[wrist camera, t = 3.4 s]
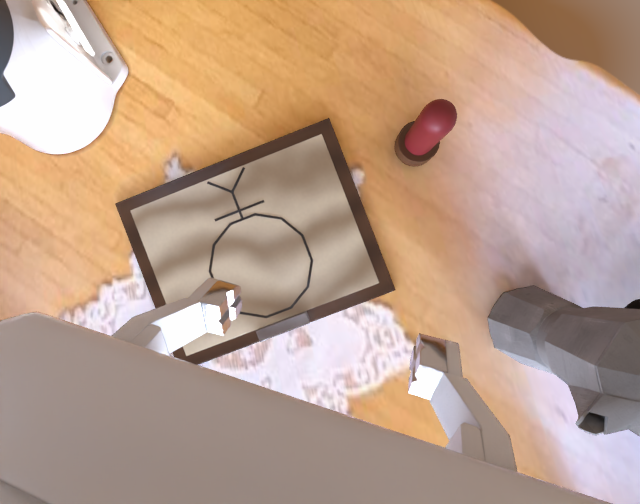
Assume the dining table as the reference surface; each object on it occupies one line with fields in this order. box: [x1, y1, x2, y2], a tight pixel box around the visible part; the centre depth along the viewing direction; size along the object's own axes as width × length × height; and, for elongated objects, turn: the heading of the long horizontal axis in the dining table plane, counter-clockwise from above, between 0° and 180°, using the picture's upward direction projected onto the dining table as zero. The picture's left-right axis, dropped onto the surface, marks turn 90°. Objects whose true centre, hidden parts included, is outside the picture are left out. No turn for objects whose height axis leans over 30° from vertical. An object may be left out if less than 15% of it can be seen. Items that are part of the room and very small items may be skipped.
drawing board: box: [116, 118, 395, 365], centre depth 36 cm, size 22×28×1 cm
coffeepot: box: [488, 286, 640, 436], centre depth 27 cm, size 15×9×18 cm, turn 126°
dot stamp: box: [395, 99, 457, 166], centre depth 31 cm, size 5×5×10 cm
